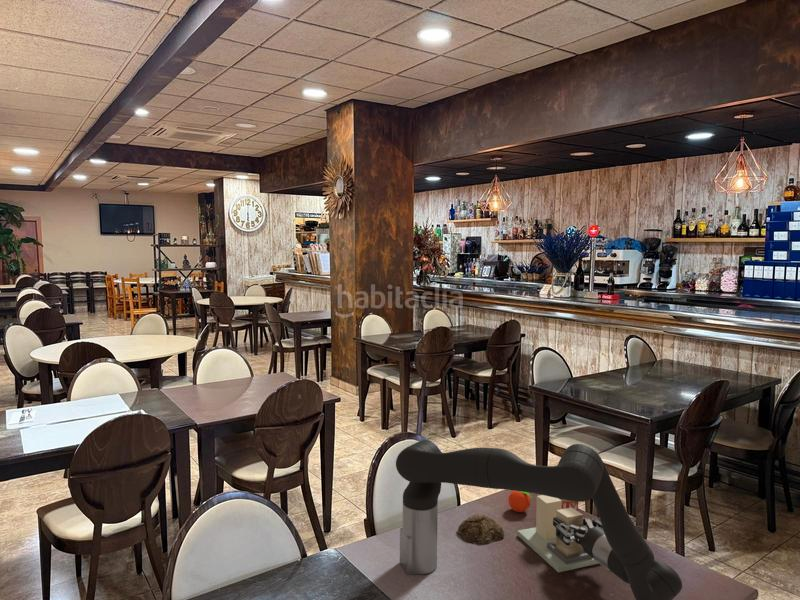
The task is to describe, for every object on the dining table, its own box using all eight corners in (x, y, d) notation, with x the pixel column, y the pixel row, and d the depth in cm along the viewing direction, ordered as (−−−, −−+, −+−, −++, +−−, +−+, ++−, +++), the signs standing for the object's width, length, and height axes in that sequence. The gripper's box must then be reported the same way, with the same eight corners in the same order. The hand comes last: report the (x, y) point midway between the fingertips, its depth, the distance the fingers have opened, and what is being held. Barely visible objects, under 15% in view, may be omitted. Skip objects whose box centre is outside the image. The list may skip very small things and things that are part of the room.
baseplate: (558, 572, 145) (559, 526, 144) (517, 535, 164) (518, 494, 163) (602, 562, 150) (604, 518, 149) (557, 527, 169) (559, 487, 168)
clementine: (536, 510, 180) (536, 488, 180) (529, 518, 174) (530, 497, 174) (512, 504, 184) (512, 483, 184) (505, 512, 178) (505, 491, 178)
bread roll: (483, 520, 174) (483, 504, 173) (510, 538, 163) (510, 521, 163) (449, 530, 168) (450, 514, 167) (475, 549, 157) (475, 532, 156)
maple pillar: (567, 557, 149) (567, 517, 149) (556, 549, 154) (556, 510, 153) (582, 554, 151) (583, 514, 150) (571, 546, 155) (571, 507, 155)
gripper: (630, 530, 140) (587, 501, 156) (582, 539, 135) (543, 509, 151) (628, 558, 141) (586, 527, 156) (581, 569, 136) (542, 536, 152)
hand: (565, 518), depth 154 cm, fingers open, 6 cm apart
